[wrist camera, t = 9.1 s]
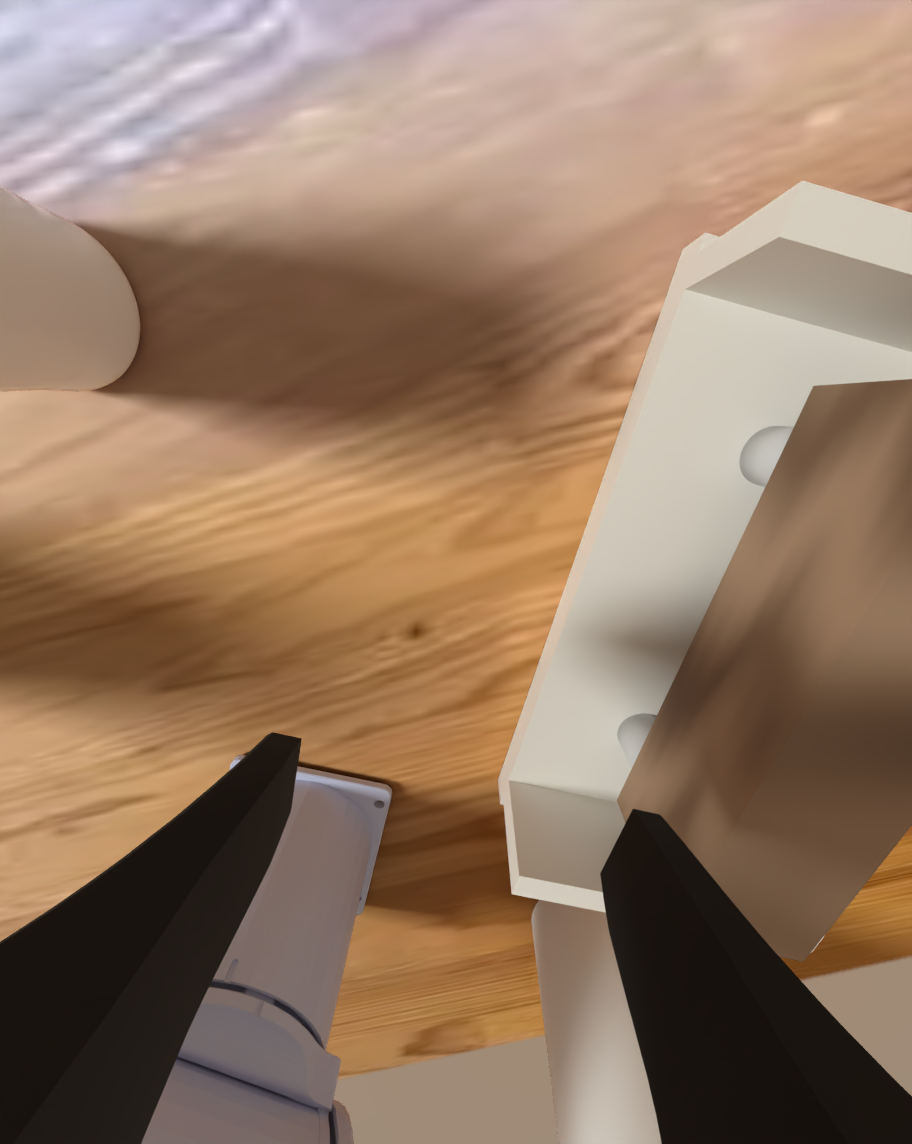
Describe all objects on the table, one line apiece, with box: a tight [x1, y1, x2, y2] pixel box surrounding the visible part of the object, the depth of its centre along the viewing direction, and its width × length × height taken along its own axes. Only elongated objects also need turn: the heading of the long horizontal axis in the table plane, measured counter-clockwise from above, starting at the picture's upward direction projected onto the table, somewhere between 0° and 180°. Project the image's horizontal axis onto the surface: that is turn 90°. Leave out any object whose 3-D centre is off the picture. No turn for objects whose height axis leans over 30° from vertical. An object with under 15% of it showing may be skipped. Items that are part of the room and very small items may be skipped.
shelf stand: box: [498, 181, 912, 953], centre depth 16 cm, size 23×12×6 cm, turn 167°
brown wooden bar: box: [617, 379, 912, 962], centre depth 13 cm, size 16×4×5 cm, turn 167°
